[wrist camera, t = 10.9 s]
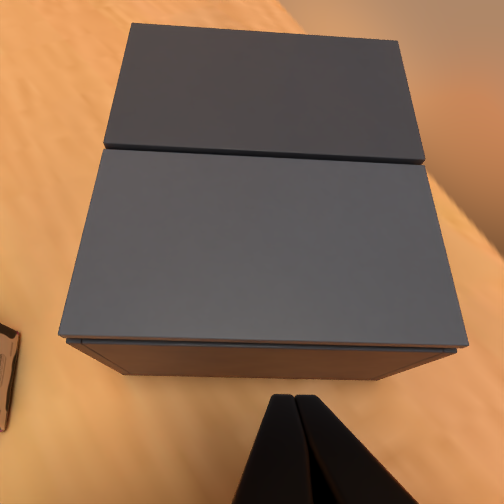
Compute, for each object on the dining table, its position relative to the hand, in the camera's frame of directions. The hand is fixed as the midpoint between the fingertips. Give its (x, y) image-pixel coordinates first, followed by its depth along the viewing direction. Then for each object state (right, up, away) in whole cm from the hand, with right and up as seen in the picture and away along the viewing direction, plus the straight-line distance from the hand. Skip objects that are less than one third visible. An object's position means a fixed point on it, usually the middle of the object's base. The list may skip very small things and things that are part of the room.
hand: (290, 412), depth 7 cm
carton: (-1, +3, +15) cm, 16 cm away
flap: (0, +3, +7) cm, 7 cm away
